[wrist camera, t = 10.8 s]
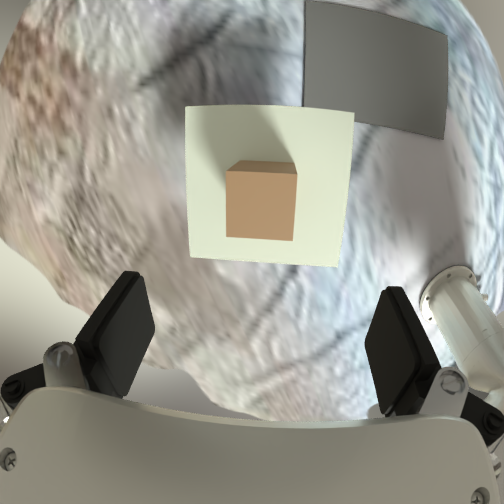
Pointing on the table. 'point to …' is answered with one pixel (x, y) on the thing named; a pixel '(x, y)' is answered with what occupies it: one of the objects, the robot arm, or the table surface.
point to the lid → (267, 182)
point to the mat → (376, 68)
